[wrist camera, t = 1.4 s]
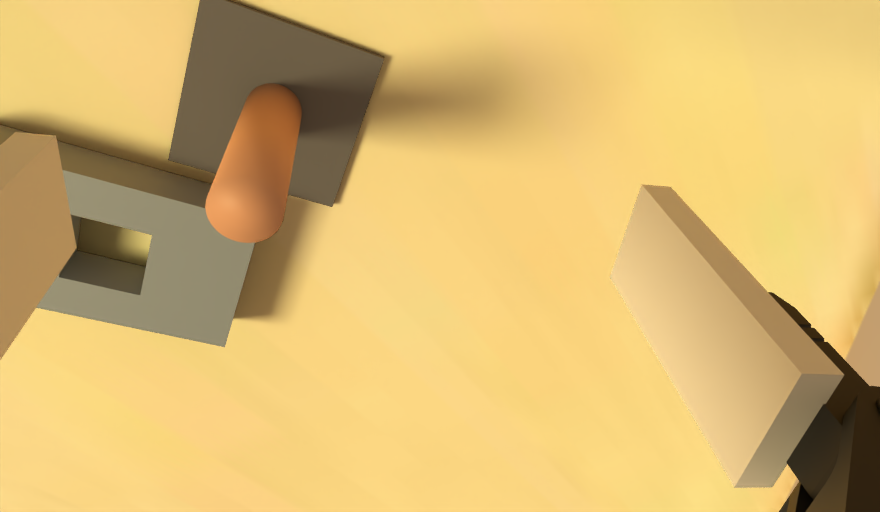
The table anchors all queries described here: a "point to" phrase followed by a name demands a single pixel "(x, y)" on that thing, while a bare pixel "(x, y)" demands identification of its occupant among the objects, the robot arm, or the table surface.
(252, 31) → the mat
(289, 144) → the peg
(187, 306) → the hole block
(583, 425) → the table surface
